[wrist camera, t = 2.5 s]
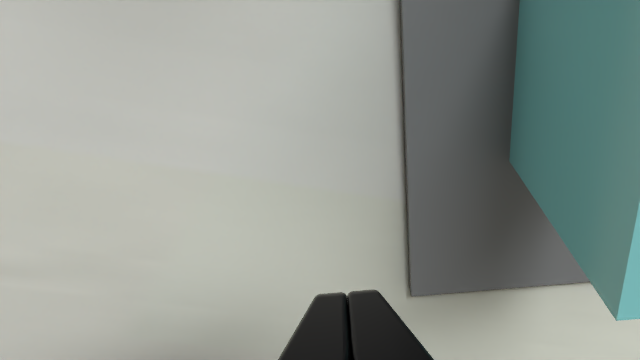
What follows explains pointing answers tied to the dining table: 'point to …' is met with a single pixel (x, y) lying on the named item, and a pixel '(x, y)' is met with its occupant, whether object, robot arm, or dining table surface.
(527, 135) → the tile
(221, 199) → the dining table surface
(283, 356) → the robot arm
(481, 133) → the mat
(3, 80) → the dining table surface
